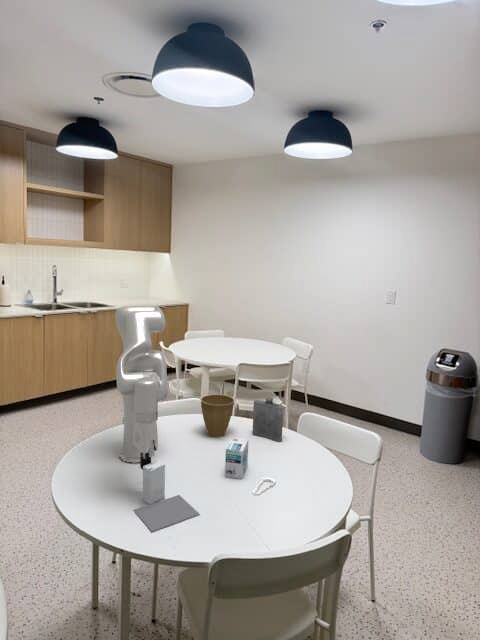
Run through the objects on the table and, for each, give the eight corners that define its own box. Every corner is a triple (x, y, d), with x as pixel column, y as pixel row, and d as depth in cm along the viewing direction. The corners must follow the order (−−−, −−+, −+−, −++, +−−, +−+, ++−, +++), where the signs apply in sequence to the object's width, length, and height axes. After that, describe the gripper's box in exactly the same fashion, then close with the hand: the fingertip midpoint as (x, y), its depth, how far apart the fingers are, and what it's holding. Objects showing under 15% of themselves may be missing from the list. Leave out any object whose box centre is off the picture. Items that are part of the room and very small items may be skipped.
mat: (133, 510, 139) (133, 509, 139) (179, 495, 149) (179, 494, 149) (151, 532, 129) (151, 531, 129) (199, 515, 138) (199, 513, 138)
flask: (255, 432, 204) (256, 394, 201) (283, 440, 197) (285, 400, 194) (251, 434, 201) (252, 396, 198) (279, 442, 194) (282, 402, 191)
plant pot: (232, 441, 193) (234, 405, 191) (198, 439, 193) (199, 404, 191) (233, 427, 208) (234, 394, 206) (201, 426, 208) (202, 393, 206)
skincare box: (156, 493, 150) (157, 459, 148) (165, 498, 147) (165, 463, 145) (141, 500, 145) (141, 465, 143) (150, 506, 142) (150, 470, 140)
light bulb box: (242, 479, 161) (243, 451, 159) (224, 477, 162) (225, 449, 161) (247, 466, 171) (249, 439, 170) (230, 463, 173) (231, 437, 171)
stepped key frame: (265, 500, 150) (265, 496, 149) (251, 497, 152) (251, 492, 151) (277, 481, 161) (277, 477, 161) (264, 478, 163) (264, 474, 163)
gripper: (126, 410, 151) (126, 462, 153) (145, 425, 139) (144, 480, 141) (146, 407, 155) (146, 457, 158) (166, 420, 143) (166, 474, 146)
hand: (145, 468), depth 149 cm, fingers closed
